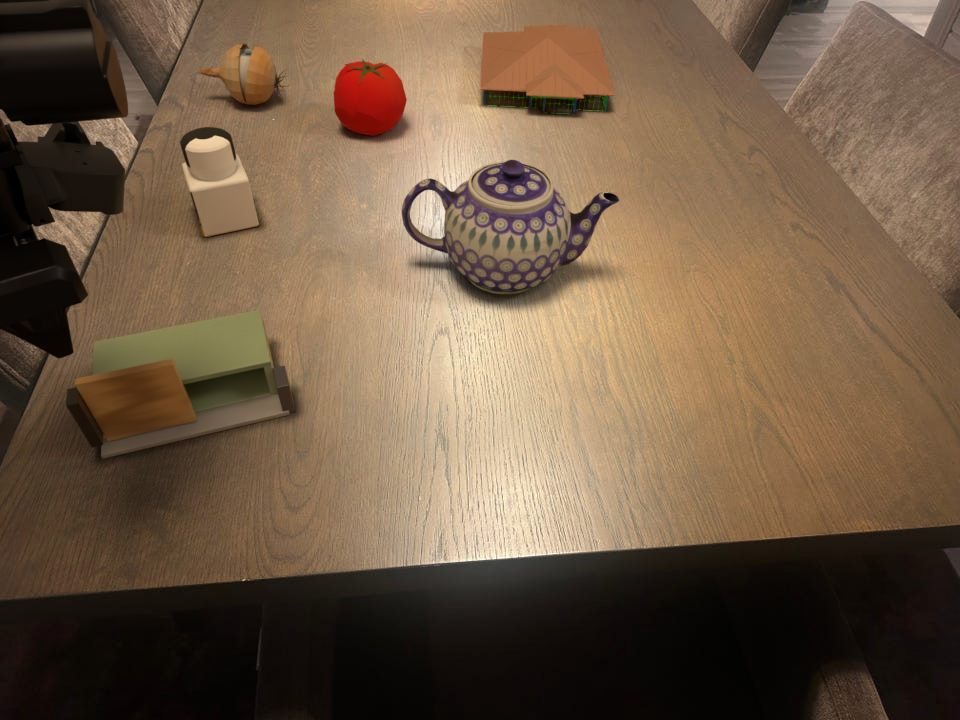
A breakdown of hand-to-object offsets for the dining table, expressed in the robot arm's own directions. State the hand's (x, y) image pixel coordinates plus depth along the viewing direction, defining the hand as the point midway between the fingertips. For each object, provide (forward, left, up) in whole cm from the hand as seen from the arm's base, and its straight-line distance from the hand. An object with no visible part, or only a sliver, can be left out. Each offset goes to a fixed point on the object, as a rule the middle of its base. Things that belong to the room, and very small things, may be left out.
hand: (51, 319), depth 52 cm
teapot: (+25, +40, -16) cm, 50 cm away
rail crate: (+3, +8, -16) cm, 18 cm away
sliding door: (+2, +2, -16) cm, 16 cm away
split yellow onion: (-30, +67, -16) cm, 75 cm away
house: (+13, +98, -16) cm, 100 cm away
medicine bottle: (-13, +36, -16) cm, 42 cm away
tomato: (-7, +67, -16) cm, 69 cm away
